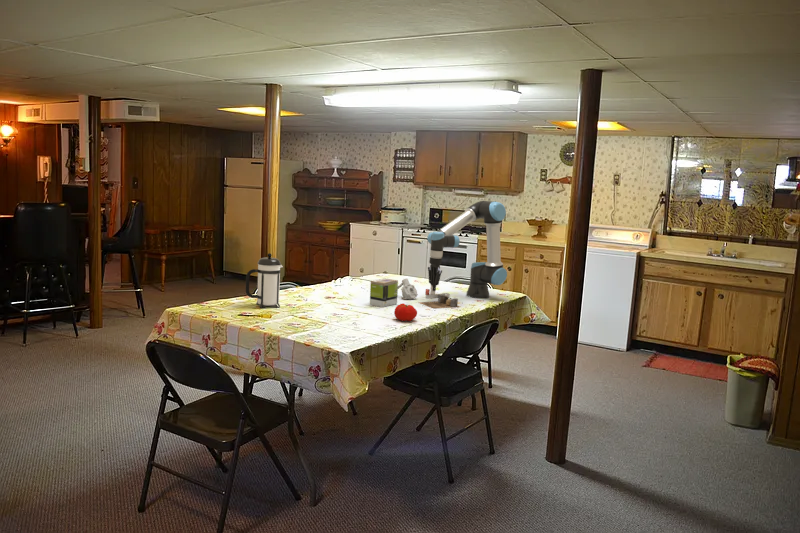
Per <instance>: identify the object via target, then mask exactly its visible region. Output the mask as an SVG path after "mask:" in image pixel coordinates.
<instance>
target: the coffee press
mask: <svg viewBox="0 0 800 533" xmlns="http://www.w3.org/2000/svg"><path fill="white" fill-rule="evenodd" d="M272 256H273V255H272V253H270V252H269V253H267V256H266V257H265V256H264V257H261V258H260V259H258V261H257V265H258V266H257V269H255V268H252V269H250V270H249V271H248V272H247V273H246V276H245V293H246V296H247V297H249V298H252V299H257V300H256V301H257V302H255V304H256V305H257V306H259V309H263V308H264V307H265V306H275V307H276V308H277V309H280V308H281V305H280V287H281V286H280V283H281V268H282V269H283V268H284V266H283V265H282V262H281V261H280V259H279V258H277V257H272ZM254 273H257V294H252V293H250V276H251V274H254Z"/></svg>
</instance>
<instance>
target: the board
mask: <svg viewBox="0 0 800 533" xmlns="http://www.w3.org/2000/svg"><path fill="white" fill-rule="evenodd" d="M448 299H449V298H444V303H438V300H435V301H422V302H421V301H418V302H417V303H418V304H420V305H422V306H426V307H429V308H430V309H433V310H434V309H435V310H436V309H450V308H451V309H453V308H461V306H460V305H459V304H458V303H459V302H458V300H459V299H458V298H452V299H451V298H450V299H451V305H450V306H448V305H447V304H446V300H448Z"/></svg>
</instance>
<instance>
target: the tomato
mask: <svg viewBox="0 0 800 533" xmlns="http://www.w3.org/2000/svg"><path fill="white" fill-rule="evenodd" d="M396 305H397V306H396V307H395V309H394V311H393V313H394V314H393V315H394V317H395V318H396V319H397V320H399V321H400V322H412V320H415V319H416V317H417V315H418V311H417V309H416V308H415V307H414V306H413V305H411V304H405V303H400V304H396Z"/></svg>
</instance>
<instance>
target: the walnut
mask: <svg viewBox="0 0 800 533" xmlns="http://www.w3.org/2000/svg"><path fill="white" fill-rule="evenodd" d="M446 304H447V305H448V306H450V305H451V298H448V300H446Z"/></svg>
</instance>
